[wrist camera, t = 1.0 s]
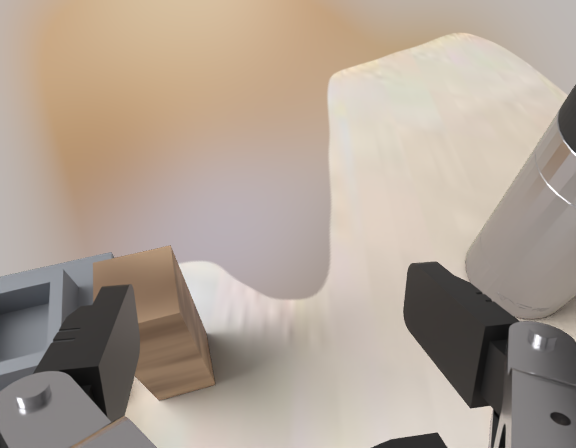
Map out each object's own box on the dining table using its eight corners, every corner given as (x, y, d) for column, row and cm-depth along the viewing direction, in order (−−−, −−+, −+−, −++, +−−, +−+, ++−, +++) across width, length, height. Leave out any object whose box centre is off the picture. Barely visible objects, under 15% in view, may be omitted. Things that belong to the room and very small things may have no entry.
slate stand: (-42, 291, 39) (-72, 269, 36) (113, 256, 41) (99, 233, 38) (-75, 456, 31) (-117, 448, 28) (120, 402, 33) (102, 388, 30)
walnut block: (153, 346, 36) (92, 262, 25) (206, 333, 37) (170, 245, 25) (159, 400, 33) (93, 334, 22) (215, 384, 34) (179, 312, 23)
